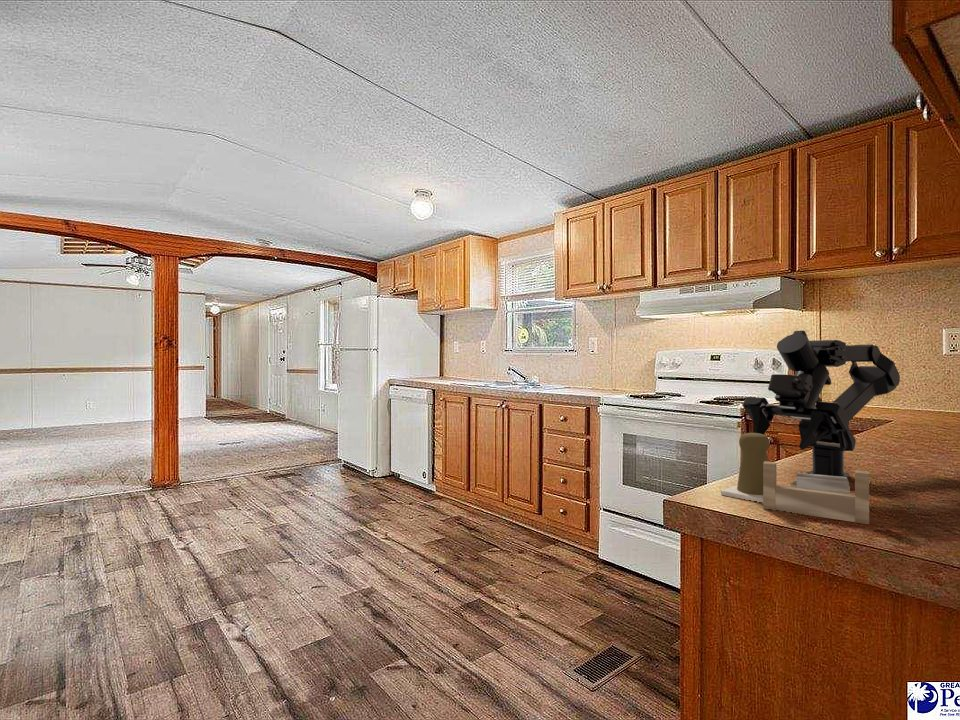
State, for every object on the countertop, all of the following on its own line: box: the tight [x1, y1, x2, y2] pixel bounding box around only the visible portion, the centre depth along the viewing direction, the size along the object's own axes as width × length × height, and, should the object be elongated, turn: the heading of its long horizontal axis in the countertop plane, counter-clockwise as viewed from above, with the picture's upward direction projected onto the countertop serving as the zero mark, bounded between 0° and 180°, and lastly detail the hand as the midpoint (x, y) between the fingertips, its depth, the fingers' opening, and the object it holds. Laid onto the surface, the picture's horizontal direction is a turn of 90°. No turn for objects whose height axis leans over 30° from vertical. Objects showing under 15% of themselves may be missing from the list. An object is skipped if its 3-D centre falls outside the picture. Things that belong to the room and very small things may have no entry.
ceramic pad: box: [720, 484, 763, 504], centre depth 100 cm, size 8×8×1 cm
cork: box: [737, 432, 771, 495], centre depth 100 cm, size 6×6×11 cm
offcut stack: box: [789, 472, 851, 494], centre depth 98 cm, size 5×9×4 cm, turn 53°
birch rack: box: [762, 461, 870, 525], centre depth 88 cm, size 2×15×8 cm, turn 54°
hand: (776, 444), depth 104 cm, fingers open, 9 cm apart
